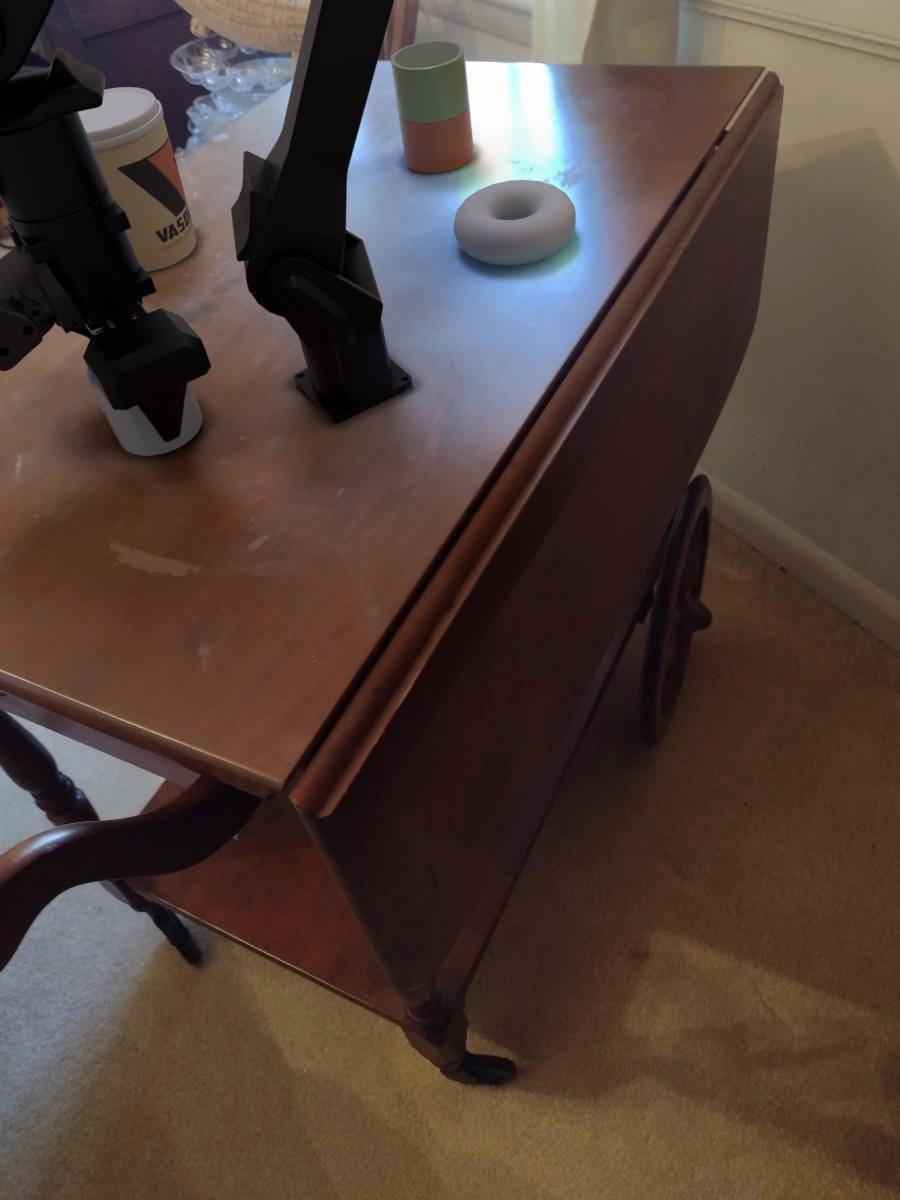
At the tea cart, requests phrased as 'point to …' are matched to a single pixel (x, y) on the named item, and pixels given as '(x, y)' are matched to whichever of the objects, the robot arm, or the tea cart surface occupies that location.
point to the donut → (514, 222)
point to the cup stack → (433, 105)
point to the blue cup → (148, 424)
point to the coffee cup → (142, 174)
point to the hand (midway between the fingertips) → (155, 416)
